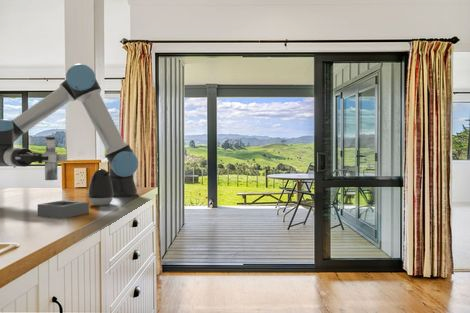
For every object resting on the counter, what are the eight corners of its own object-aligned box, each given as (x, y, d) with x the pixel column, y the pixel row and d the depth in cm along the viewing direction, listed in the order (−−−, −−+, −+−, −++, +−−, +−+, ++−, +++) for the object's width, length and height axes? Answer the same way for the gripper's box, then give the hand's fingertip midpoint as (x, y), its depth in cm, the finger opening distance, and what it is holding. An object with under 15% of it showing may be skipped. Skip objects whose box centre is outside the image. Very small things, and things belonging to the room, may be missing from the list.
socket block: (65, 210, 144) (65, 199, 144) (88, 212, 139) (88, 202, 139) (37, 215, 133) (37, 204, 133) (62, 218, 128) (62, 207, 128)
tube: (52, 178, 149) (51, 137, 149) (60, 179, 148) (59, 137, 147) (42, 180, 145) (41, 137, 145) (50, 180, 144) (49, 137, 143)
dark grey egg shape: (97, 207, 150) (97, 170, 150) (83, 205, 157) (83, 168, 156) (119, 204, 159) (119, 168, 158) (104, 202, 165) (104, 167, 164)
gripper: (38, 165, 161) (78, 166, 152) (-2, 167, 145) (41, 169, 136) (37, 147, 161) (78, 148, 152) (-2, 148, 145) (41, 148, 136)
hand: (60, 158), depth 144 cm, fingers closed on tube, 4 cm apart
